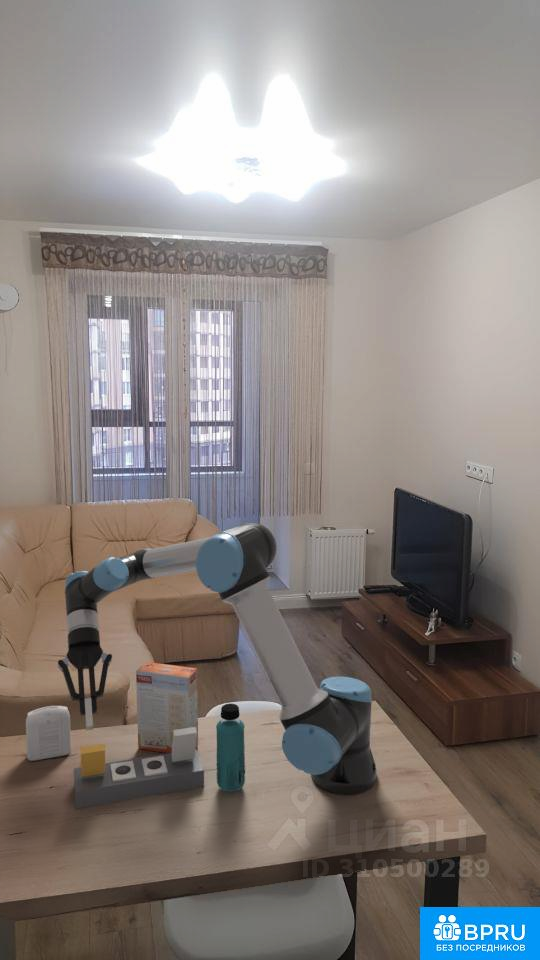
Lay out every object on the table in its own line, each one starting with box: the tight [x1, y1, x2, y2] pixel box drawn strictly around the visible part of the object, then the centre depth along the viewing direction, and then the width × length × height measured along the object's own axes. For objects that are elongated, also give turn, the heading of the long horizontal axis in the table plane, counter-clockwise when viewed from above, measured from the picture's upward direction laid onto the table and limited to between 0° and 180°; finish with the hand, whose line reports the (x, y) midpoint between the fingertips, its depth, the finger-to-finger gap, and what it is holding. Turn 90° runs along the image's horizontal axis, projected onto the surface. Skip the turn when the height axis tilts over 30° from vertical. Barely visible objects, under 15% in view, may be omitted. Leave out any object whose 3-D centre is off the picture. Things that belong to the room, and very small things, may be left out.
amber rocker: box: [79, 743, 106, 778], centre depth 151 cm, size 5×2×10 cm, turn 107°
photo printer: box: [25, 705, 72, 762], centre depth 168 cm, size 10×4×12 cm, turn 111°
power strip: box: [73, 748, 205, 809], centre depth 157 cm, size 28×9×4 cm, turn 107°
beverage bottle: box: [215, 703, 246, 792], centre depth 155 cm, size 6×7×20 cm
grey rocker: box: [172, 727, 197, 763], centre depth 157 cm, size 5×2×10 cm, turn 107°
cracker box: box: [135, 661, 199, 754], centre depth 171 cm, size 14×6×21 cm, turn 73°
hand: (89, 727), depth 159 cm, fingers closed
